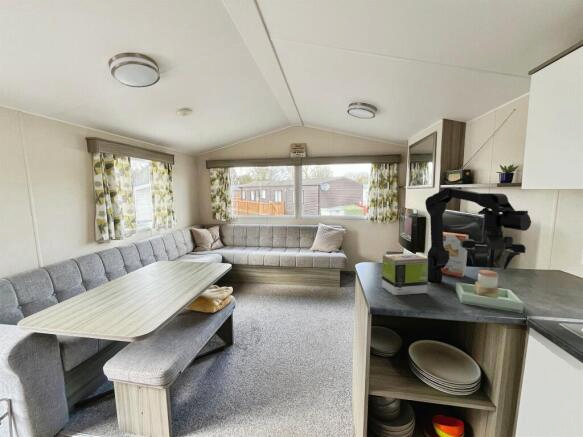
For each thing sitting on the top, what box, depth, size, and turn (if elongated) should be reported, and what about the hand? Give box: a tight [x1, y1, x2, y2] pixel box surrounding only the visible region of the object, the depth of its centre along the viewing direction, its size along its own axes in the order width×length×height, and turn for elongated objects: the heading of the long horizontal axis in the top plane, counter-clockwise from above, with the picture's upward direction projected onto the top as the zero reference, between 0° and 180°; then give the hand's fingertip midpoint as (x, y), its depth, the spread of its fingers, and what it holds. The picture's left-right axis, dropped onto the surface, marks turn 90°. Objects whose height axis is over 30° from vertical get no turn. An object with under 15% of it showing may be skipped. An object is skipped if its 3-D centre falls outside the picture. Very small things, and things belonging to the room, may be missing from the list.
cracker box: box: [441, 231, 469, 278], centre depth 131 cm, size 14×6×21 cm, turn 43°
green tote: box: [455, 282, 525, 314], centre depth 98 cm, size 18×14×4 cm
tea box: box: [381, 253, 429, 296], centre depth 107 cm, size 15×10×15 cm
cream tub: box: [477, 269, 499, 288], centre depth 97 cm, size 6×6×5 cm
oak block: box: [474, 281, 499, 298], centre depth 98 cm, size 6×6×5 cm
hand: (488, 267), depth 97 cm, fingers open, 9 cm apart
